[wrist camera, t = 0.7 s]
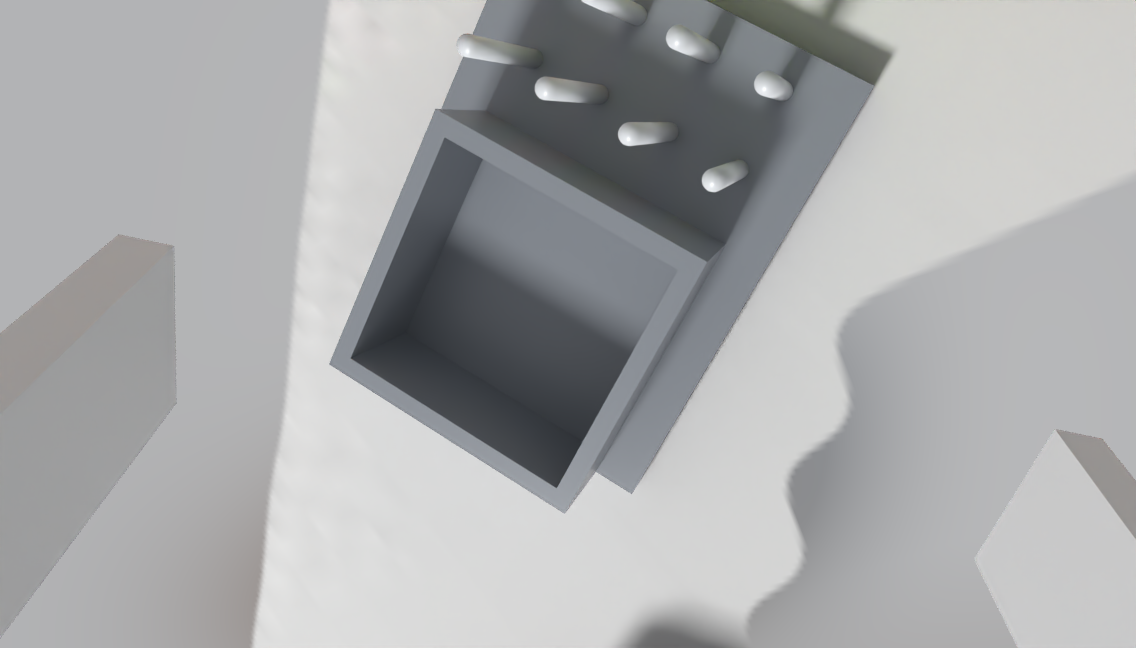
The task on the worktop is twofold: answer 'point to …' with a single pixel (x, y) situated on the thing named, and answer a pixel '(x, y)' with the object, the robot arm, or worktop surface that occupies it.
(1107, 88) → the worktop surface
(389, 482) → the worktop surface
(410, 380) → the dish rack
